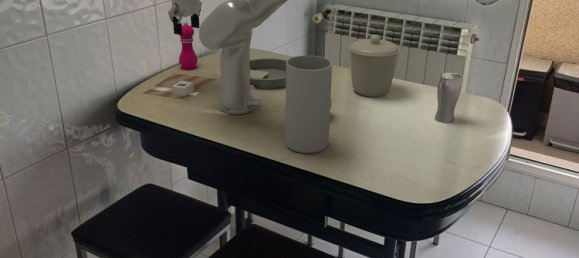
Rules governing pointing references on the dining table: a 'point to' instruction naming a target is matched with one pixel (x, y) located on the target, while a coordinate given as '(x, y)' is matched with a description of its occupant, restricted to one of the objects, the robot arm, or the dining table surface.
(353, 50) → the canister
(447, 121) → the beer glass
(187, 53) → the pepper mill
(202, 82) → the brown flat board
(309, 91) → the cylinder vase
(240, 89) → the robot arm
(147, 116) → the dining table surface
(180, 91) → the block
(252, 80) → the cake pan
